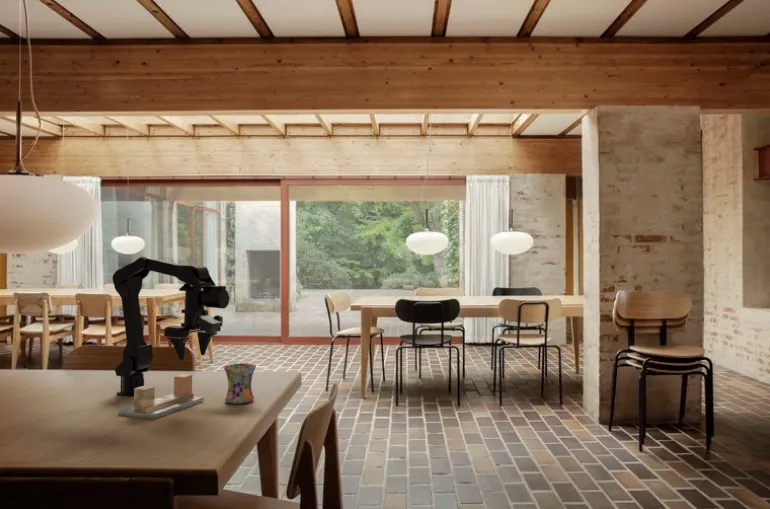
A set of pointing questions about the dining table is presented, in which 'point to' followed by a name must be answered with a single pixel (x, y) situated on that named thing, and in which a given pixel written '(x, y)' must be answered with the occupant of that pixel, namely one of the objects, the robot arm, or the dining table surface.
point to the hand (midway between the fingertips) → (192, 357)
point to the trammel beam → (146, 399)
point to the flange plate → (162, 411)
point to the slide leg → (182, 385)
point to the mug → (239, 383)
